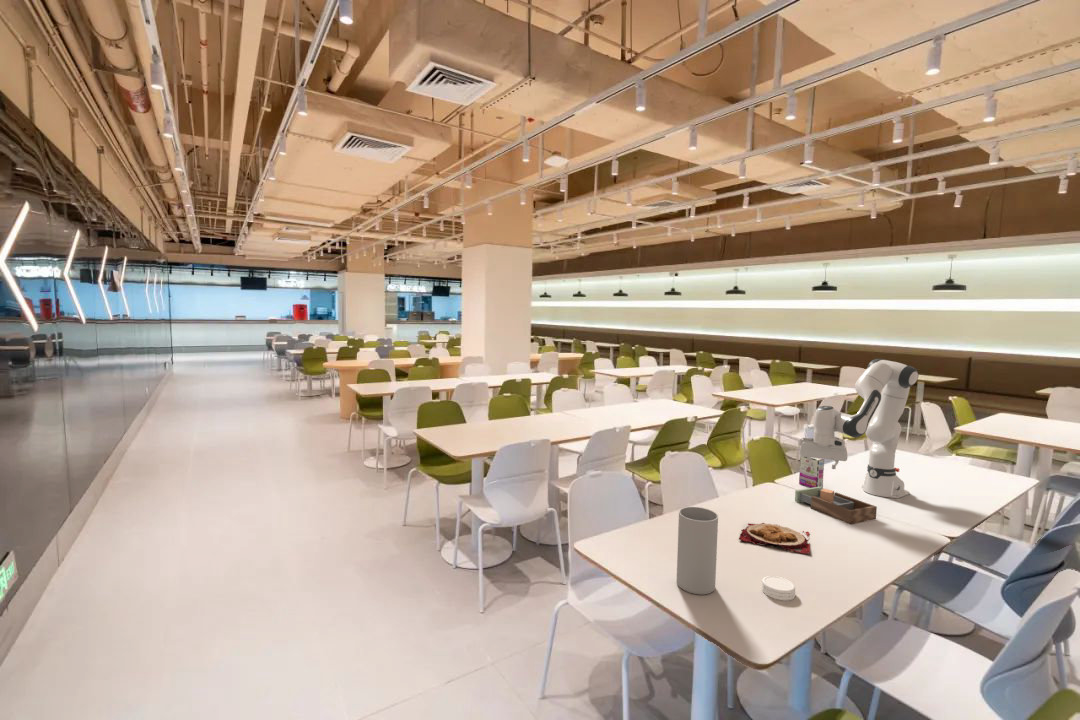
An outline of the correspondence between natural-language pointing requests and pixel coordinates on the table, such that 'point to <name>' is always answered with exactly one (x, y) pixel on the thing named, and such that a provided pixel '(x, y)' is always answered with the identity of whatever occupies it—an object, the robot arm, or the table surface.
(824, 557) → the table surface
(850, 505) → the grey drawer
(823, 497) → the terracotta block
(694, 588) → the cylinder vase
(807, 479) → the candy bar box
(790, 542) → the plate with food
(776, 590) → the coaster
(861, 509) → the organiser housing
